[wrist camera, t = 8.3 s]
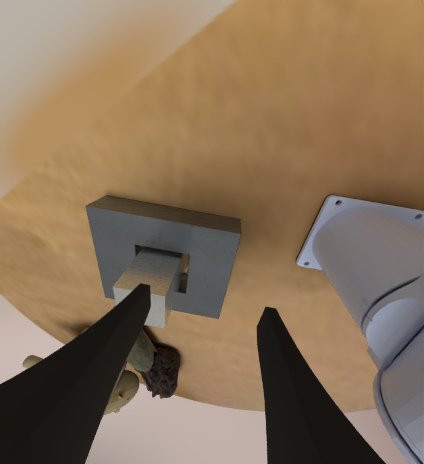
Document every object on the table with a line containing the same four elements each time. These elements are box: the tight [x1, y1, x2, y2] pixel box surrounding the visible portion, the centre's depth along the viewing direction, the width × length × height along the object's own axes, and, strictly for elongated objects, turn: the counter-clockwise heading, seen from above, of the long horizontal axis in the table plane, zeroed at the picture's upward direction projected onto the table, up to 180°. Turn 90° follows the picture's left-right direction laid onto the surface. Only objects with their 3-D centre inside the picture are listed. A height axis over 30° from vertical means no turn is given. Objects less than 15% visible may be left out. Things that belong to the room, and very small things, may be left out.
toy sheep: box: [23, 327, 139, 417], centre depth 28 cm, size 11×17×11 cm, turn 71°
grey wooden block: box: [113, 246, 187, 328], centre depth 18 cm, size 4×4×8 cm
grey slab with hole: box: [86, 195, 241, 319], centre depth 20 cm, size 14×12×3 cm
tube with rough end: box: [126, 329, 180, 399], centre depth 30 cm, size 18×7×6 cm, turn 19°
